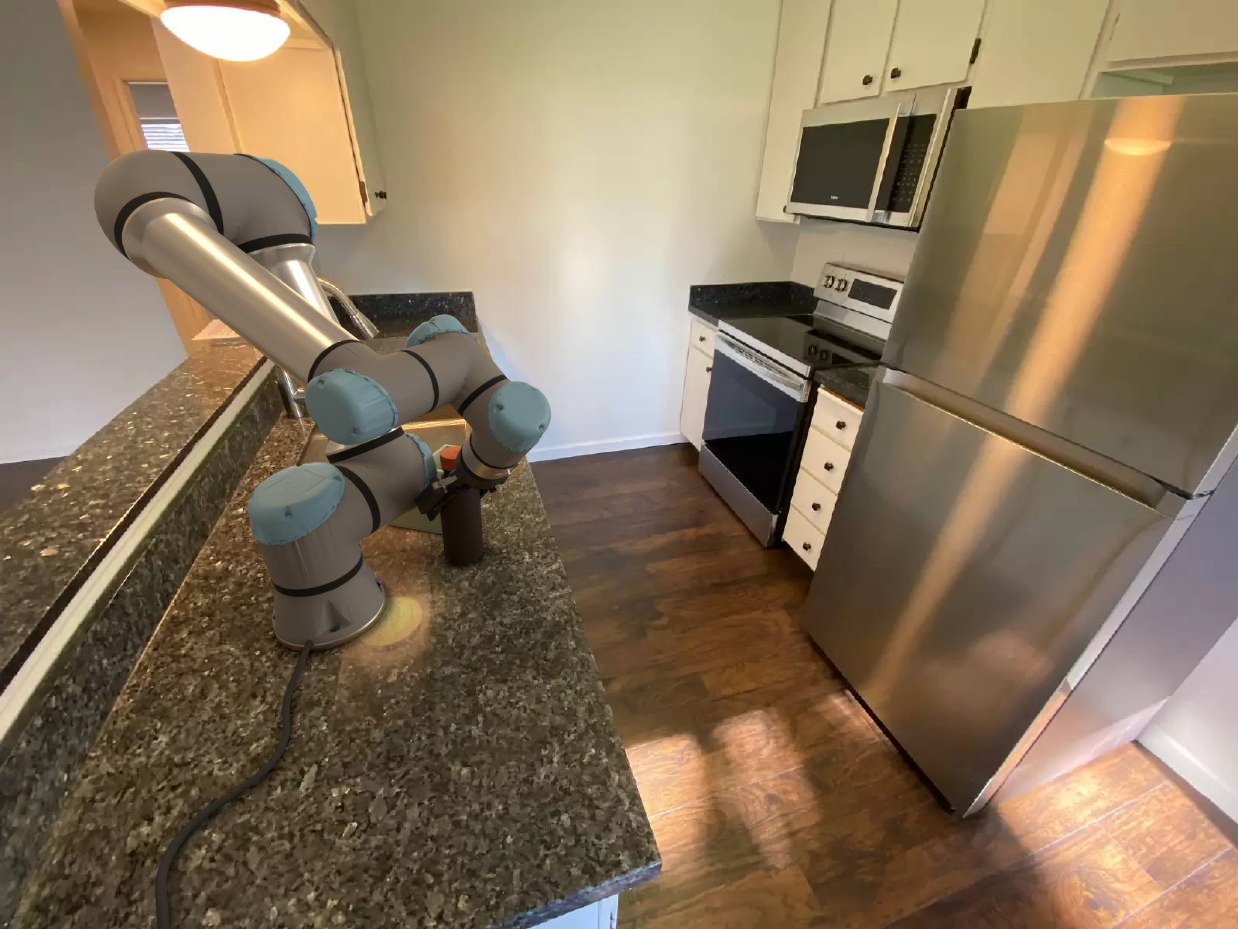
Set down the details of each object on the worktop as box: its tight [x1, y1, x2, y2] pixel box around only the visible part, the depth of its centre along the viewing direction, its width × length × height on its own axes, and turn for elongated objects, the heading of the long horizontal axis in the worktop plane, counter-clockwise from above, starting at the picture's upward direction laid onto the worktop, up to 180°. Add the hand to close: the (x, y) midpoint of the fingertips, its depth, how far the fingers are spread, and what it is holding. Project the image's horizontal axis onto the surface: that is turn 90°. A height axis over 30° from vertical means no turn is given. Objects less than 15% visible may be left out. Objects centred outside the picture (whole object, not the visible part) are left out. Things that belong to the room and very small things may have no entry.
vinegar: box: [439, 445, 485, 564], centre depth 89 cm, size 7×7×20 cm
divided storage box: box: [388, 443, 462, 535], centre depth 107 cm, size 22×12×7 cm, turn 167°
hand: (451, 505), depth 91 cm, fingers open, 8 cm apart
